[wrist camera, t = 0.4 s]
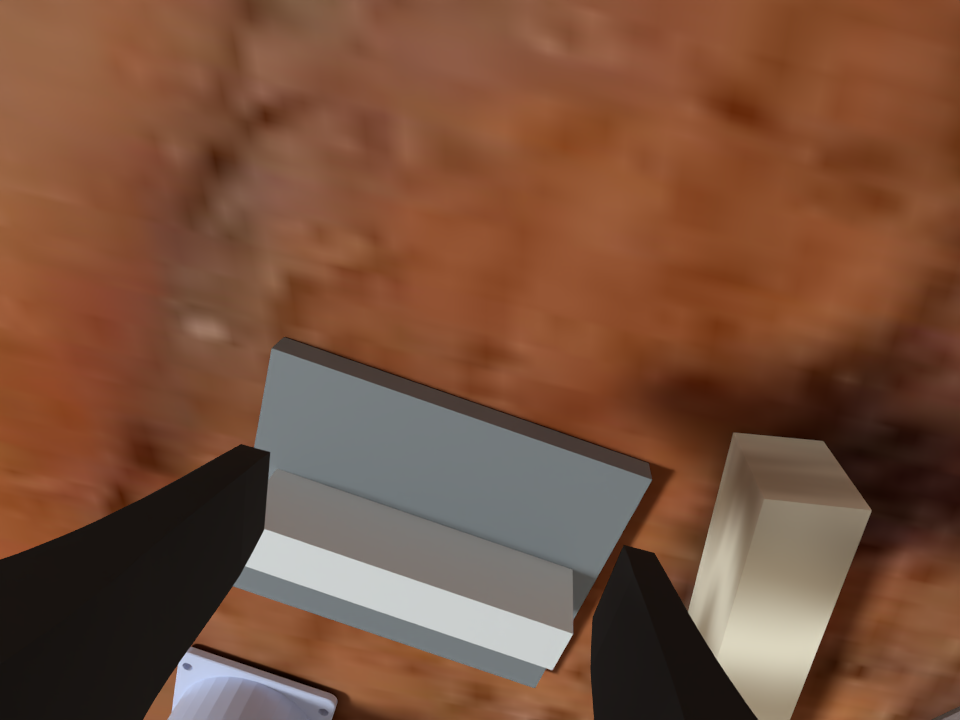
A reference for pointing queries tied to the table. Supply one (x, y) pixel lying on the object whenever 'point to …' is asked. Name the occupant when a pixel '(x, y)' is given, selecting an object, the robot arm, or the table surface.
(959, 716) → the metal rod
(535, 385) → the table surface
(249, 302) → the table surface
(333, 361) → the grey stepped base
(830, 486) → the birch beam
